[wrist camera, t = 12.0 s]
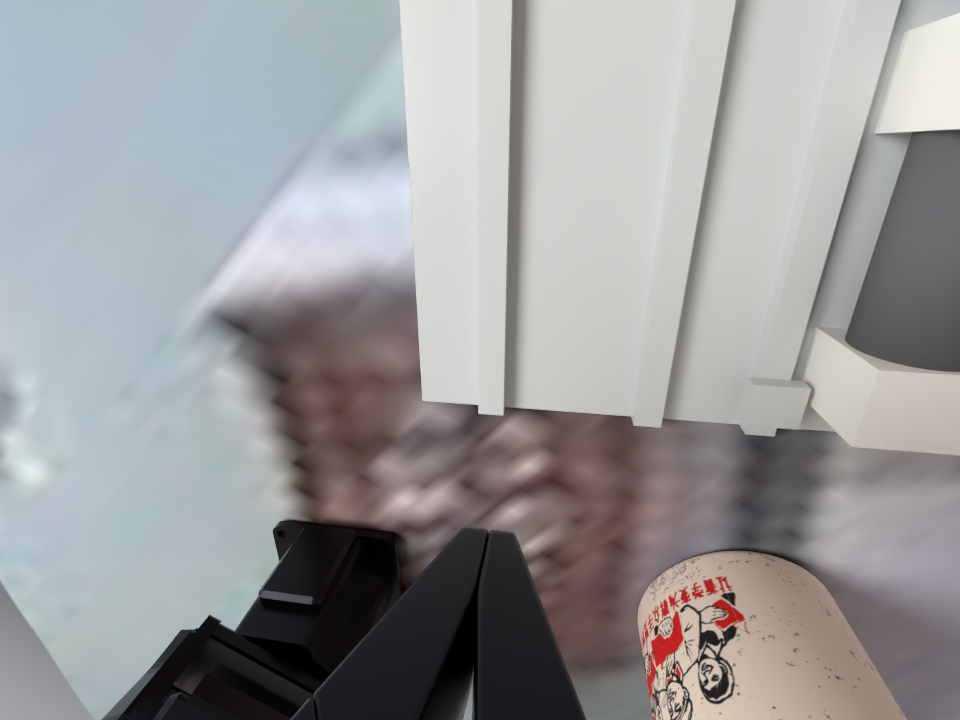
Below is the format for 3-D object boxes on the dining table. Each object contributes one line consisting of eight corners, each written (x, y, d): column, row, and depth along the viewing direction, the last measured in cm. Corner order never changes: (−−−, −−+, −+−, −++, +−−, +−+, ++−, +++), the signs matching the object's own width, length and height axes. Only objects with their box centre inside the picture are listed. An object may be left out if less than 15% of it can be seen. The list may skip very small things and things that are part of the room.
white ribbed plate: (1014, 439, 17) (1113, 502, 14) (424, 396, 20) (400, 439, 17) (1298, -96, 11) (1576, -189, 8) (401, -40, 14) (357, -92, 11)
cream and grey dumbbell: (906, 398, 17) (989, 458, 14) (796, 391, 17) (850, 446, 14) (1058, 27, 12) (1234, -18, 9) (904, 32, 13) (1019, -9, 10)
